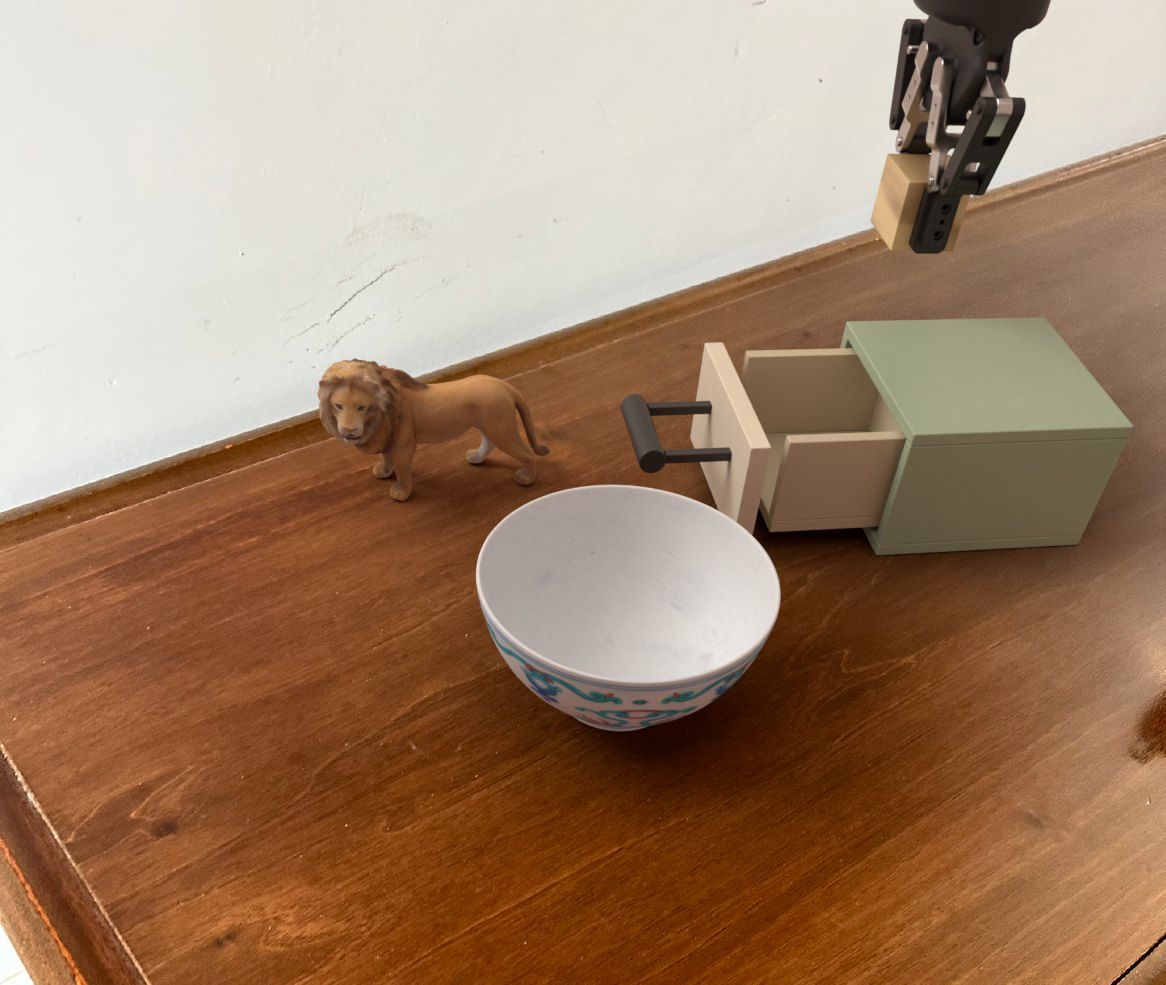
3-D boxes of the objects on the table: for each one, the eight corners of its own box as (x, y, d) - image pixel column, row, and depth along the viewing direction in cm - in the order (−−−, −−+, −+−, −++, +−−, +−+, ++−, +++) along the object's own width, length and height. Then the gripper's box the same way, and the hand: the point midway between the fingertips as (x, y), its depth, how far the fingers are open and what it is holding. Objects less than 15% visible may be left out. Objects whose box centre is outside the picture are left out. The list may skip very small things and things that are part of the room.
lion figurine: (342, 528, 72) (328, 394, 65) (316, 478, 75) (300, 345, 68) (564, 480, 76) (573, 350, 70) (532, 435, 79) (537, 306, 73)
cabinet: (875, 556, 73) (914, 434, 67) (816, 439, 81) (846, 320, 75) (1078, 545, 76) (1134, 426, 69) (1001, 432, 84) (1045, 316, 77)
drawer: (640, 550, 71) (653, 452, 66) (606, 440, 78) (616, 344, 73) (926, 535, 74) (960, 440, 69) (868, 431, 81) (894, 337, 76)
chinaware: (719, 826, 58) (746, 718, 53) (433, 746, 61) (429, 633, 55) (776, 633, 68) (805, 523, 62) (528, 570, 70) (533, 458, 64)
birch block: (930, 221, 78) (950, 154, 75) (953, 251, 75) (974, 183, 72) (869, 221, 77) (887, 153, 74) (890, 251, 75) (909, 182, 71)
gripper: (894, -129, 67) (824, 184, 80) (988, -51, 58) (893, 288, 71) (1017, -121, 68) (929, 186, 81) (1129, -45, 59) (1010, 288, 72)
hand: (913, 232), depth 76 cm, fingers closed on birch block, 4 cm apart
